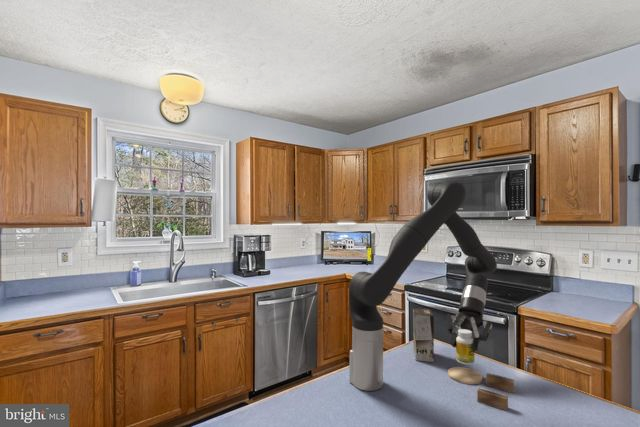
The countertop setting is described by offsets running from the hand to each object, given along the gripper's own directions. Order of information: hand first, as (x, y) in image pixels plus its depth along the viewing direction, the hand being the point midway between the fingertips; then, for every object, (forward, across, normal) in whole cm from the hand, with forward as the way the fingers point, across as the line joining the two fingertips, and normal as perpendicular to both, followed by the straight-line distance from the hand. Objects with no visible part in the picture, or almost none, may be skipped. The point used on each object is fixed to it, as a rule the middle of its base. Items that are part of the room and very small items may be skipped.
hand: (463, 348), depth 103 cm
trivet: (+6, 0, +8) cm, 9 cm away
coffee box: (+1, -16, +13) cm, 21 cm away
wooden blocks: (+10, +10, +3) cm, 15 cm away
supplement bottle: (+2, 0, +5) cm, 5 cm away
